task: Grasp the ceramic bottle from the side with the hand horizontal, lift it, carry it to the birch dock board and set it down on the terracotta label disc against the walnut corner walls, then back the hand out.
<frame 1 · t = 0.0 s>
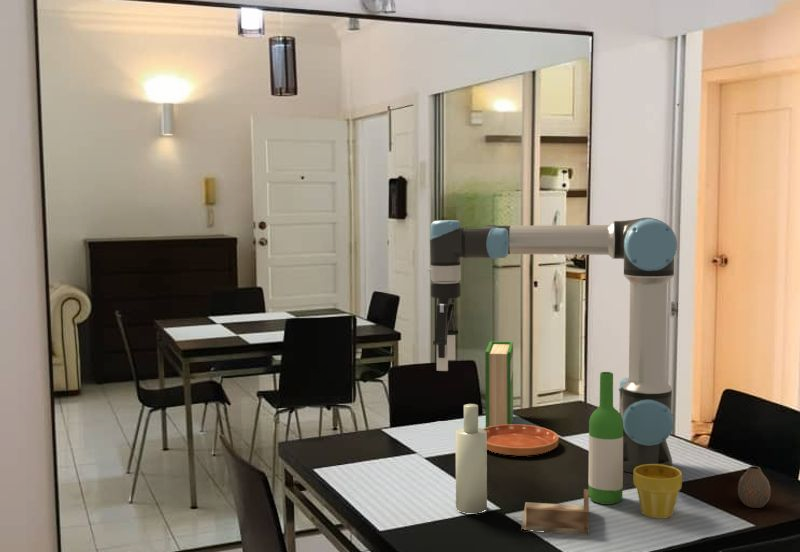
hand: (446, 365, 224), 28 cm above the table, tool pointing down, fingers open, 13 cm apart
bottle: (471, 509, 201), on the table
dock: (555, 520, 193), on the table
vase: (753, 505, 201), on the table
saucer: (517, 448, 248), on the table
wine bottle: (605, 500, 206), on the table
plant pot: (656, 514, 197), on the table
hardback book: (499, 423, 273), on the table
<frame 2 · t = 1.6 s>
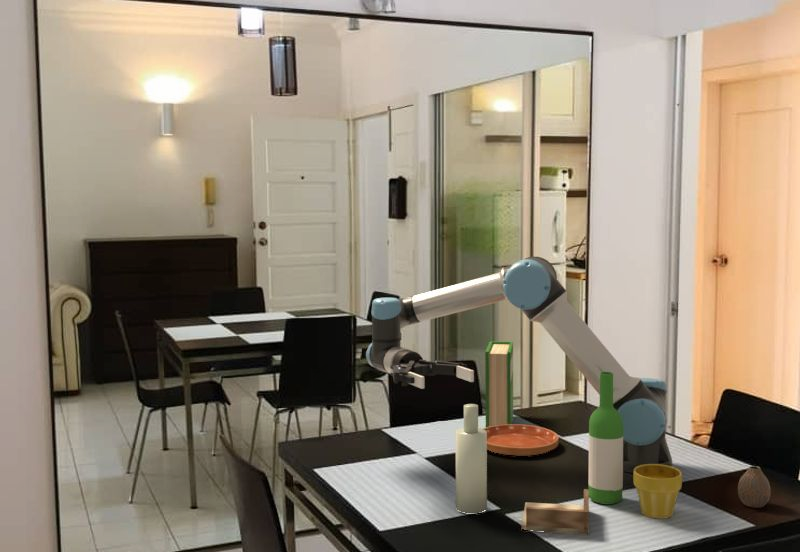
hand: (448, 379, 207), 28 cm above the table, tool horizontal, fingers open, 13 cm apart
nothing on the table moved.
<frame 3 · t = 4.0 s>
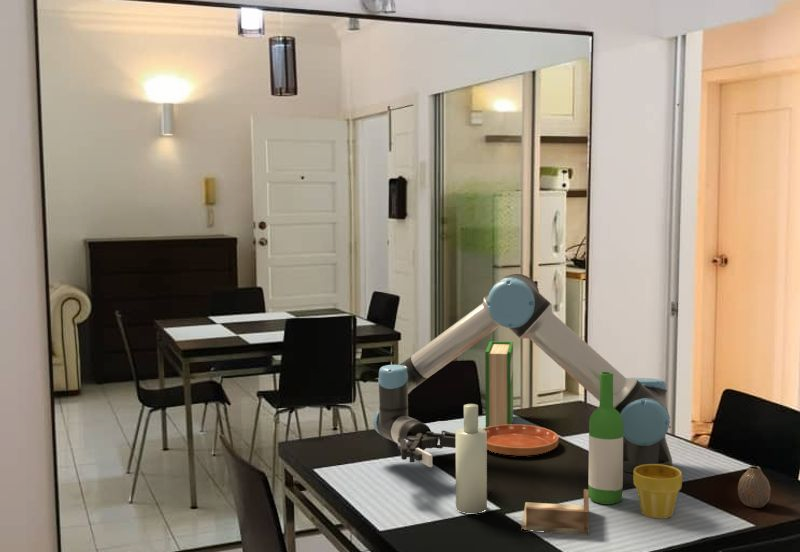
hand: (456, 456, 204), 11 cm above the table, tool horizontal, fingers open, 13 cm apart
nothing on the table moved.
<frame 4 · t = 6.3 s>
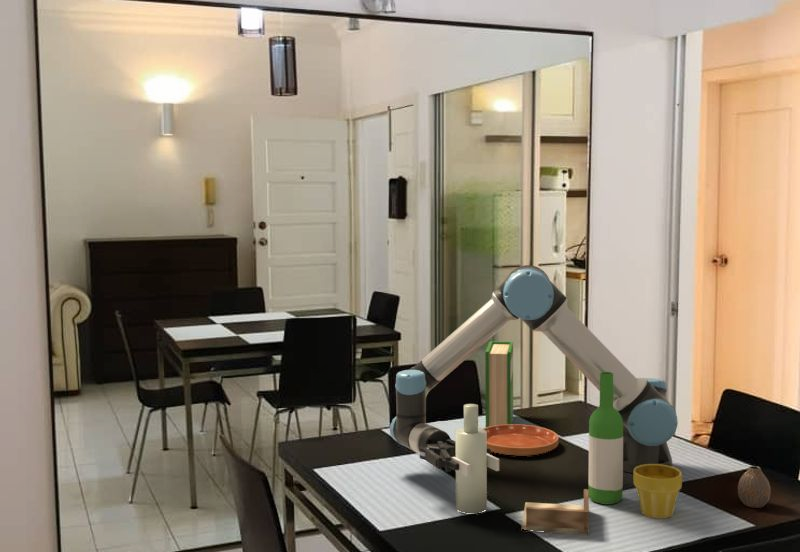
hand: (483, 467, 195), 11 cm above the table, tool horizontal, fingers closed on bottle, 7 cm apart
bottle: (471, 508, 201), on the table, touching gripper
everything else where it was.
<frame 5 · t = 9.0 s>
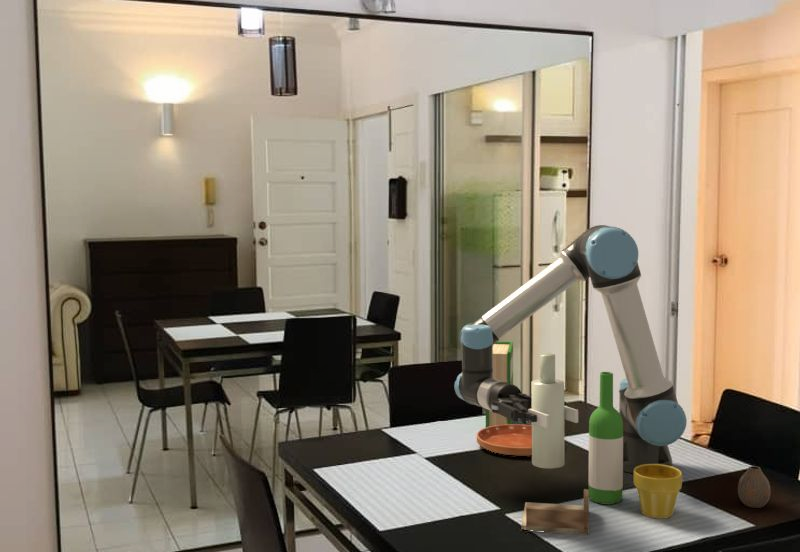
hand: (562, 419, 187), 24 cm above the table, tool horizontal, fingers closed on bottle, 7 cm apart
bottle: (548, 463, 192), point 13 cm above the table, touching gripper
everything else where it was.
when the fingers open (13 cm above the table, at t = 11.6 s): bottle drops 1 cm, resting on dock.
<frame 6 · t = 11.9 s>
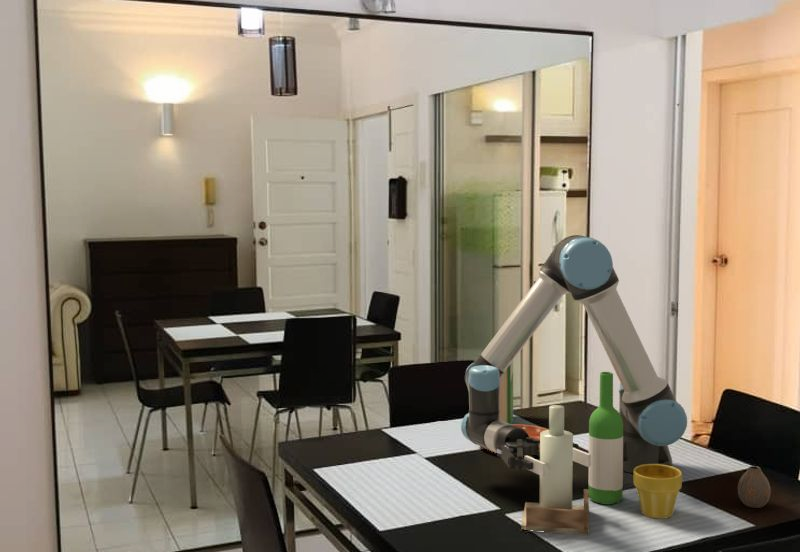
hand: (567, 465, 189), 13 cm above the table, tool horizontal, fingers open, 11 cm apart
bottle: (555, 514, 193), point 1 cm above the table, touching dock
everything else where it was.
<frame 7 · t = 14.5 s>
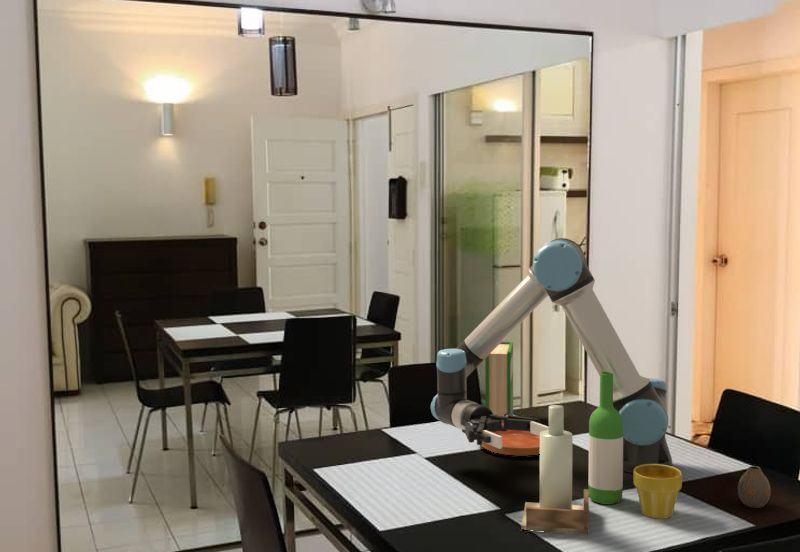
hand: (525, 437, 201), 16 cm above the table, tool horizontal, fingers open, 13 cm apart
nothing on the table moved.
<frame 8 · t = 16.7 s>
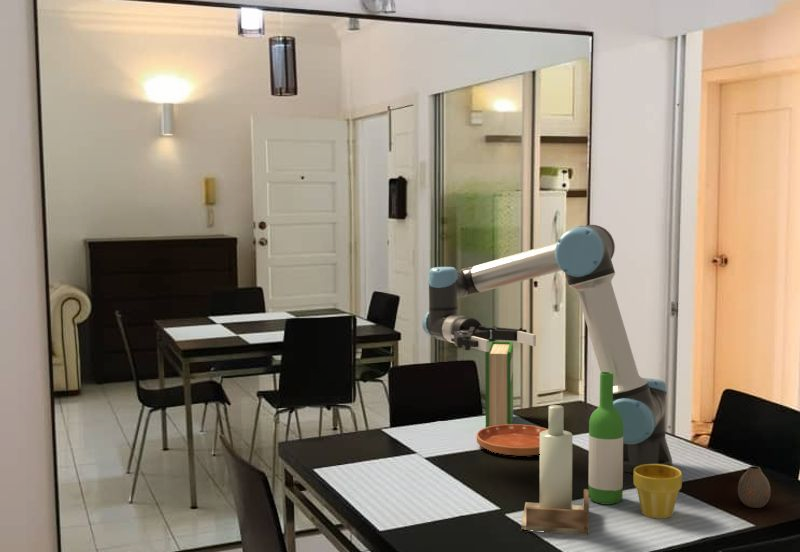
hand: (511, 343, 209), 36 cm above the table, tool horizontal, fingers open, 13 cm apart
nothing on the table moved.
at the end: bottle 0.1 cm from the dock (horizontally); bottle tilted 0°; the gripper is holding nothing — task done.
